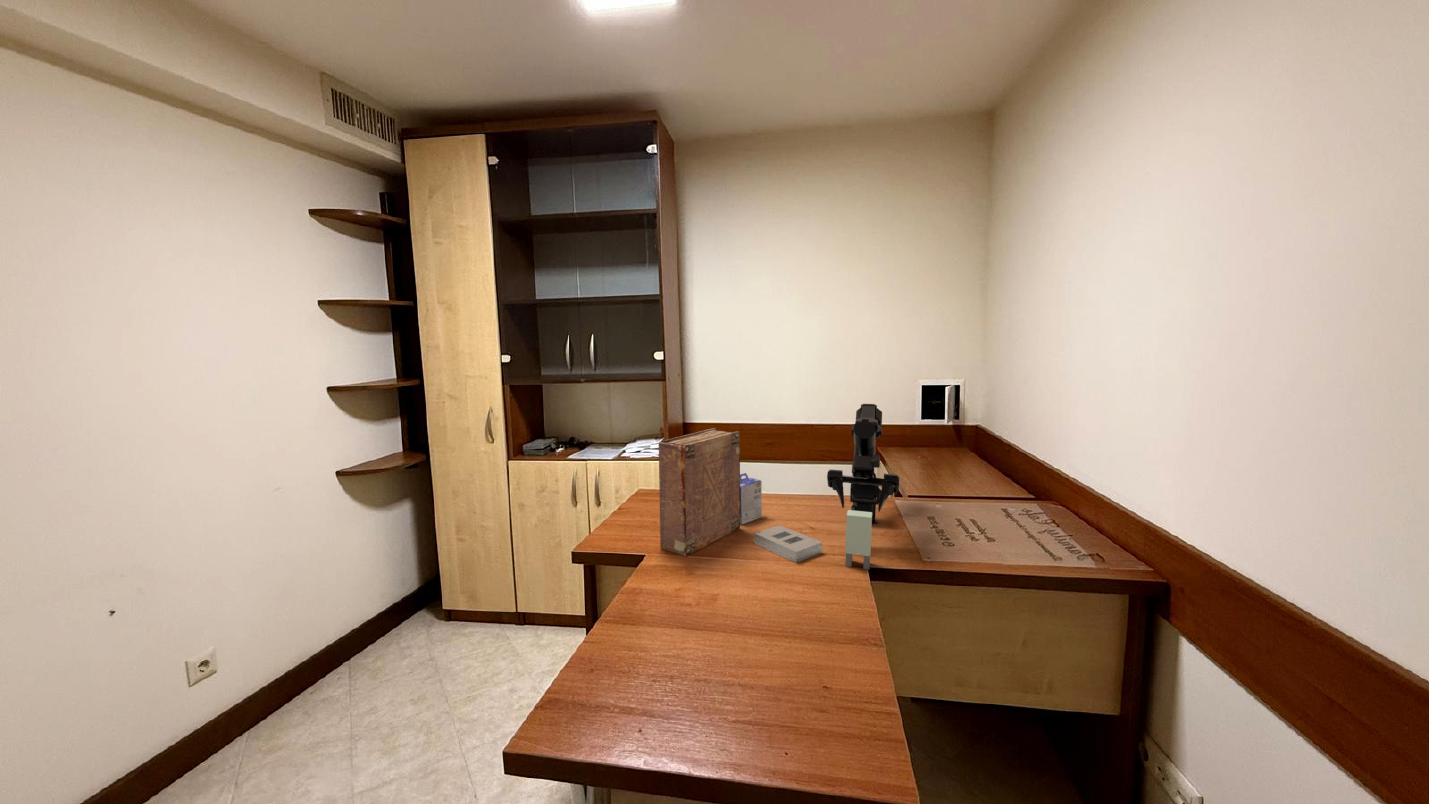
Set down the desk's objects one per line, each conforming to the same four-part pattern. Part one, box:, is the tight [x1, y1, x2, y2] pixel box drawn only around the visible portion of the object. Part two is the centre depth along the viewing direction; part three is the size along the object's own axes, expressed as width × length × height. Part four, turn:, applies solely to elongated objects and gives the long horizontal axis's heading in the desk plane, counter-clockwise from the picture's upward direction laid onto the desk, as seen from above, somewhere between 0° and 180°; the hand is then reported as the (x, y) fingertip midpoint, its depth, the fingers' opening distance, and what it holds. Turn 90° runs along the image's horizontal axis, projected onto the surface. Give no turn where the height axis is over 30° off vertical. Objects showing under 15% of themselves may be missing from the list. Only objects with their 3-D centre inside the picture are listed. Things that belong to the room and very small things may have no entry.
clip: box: [845, 509, 873, 570], centre depth 134 cm, size 4×6×14 cm, turn 72°
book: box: [658, 427, 741, 558], centre depth 150 cm, size 25×9×30 cm, turn 143°
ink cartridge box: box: [740, 472, 763, 526], centre depth 167 cm, size 10×6×14 cm, turn 134°
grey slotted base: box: [753, 524, 823, 564], centre depth 145 cm, size 10×16×3 cm, turn 38°
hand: (860, 509), depth 140 cm, fingers open, 9 cm apart
